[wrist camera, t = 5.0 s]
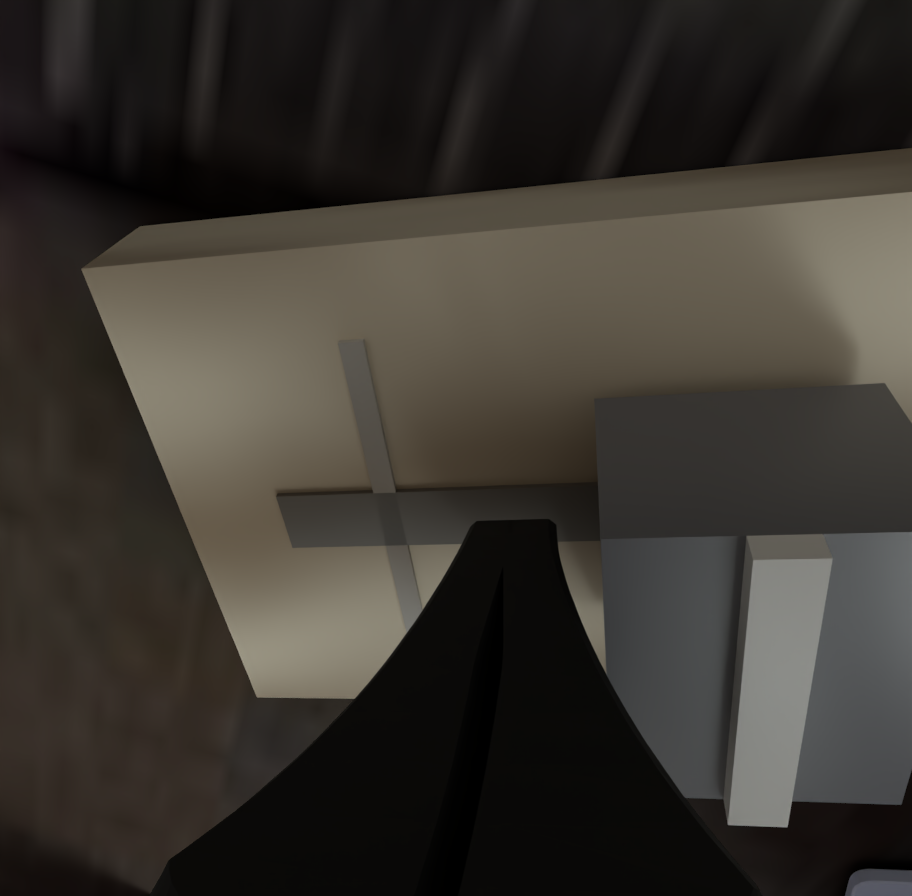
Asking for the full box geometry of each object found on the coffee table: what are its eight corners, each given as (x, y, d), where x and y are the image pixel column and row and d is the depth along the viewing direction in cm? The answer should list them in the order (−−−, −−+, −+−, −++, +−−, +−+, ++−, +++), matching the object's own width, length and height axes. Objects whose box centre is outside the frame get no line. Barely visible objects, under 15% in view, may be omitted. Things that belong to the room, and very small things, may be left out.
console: (1234, 626, 16) (1316, 714, 14) (283, 630, 19) (255, 700, 17) (1544, 83, 10) (1743, 117, 9) (139, 226, 14) (78, 271, 12)
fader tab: (837, 634, 14) (911, 831, 11) (604, 634, 14) (612, 820, 11) (885, 382, 11) (998, 555, 8) (594, 398, 12) (602, 562, 9)
